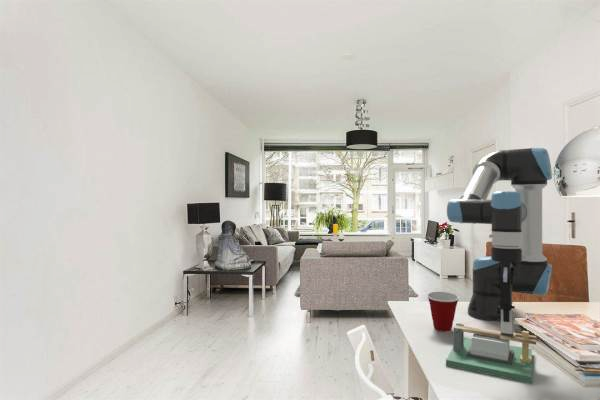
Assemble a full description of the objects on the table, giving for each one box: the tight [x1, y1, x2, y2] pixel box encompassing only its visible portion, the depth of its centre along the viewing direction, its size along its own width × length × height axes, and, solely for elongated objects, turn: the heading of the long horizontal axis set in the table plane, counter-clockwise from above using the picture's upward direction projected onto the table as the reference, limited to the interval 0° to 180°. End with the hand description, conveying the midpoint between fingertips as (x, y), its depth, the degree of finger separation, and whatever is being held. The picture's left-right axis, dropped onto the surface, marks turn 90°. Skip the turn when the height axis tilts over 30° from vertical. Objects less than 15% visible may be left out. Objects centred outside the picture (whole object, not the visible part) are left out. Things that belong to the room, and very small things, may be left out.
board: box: [445, 322, 533, 384], centre depth 112 cm, size 22×20×9 cm
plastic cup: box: [426, 291, 460, 333], centre depth 138 cm, size 11×11×12 cm
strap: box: [454, 324, 537, 346], centre depth 111 cm, size 5×20×1 cm, turn 59°
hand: (506, 332), depth 109 cm, fingers closed
